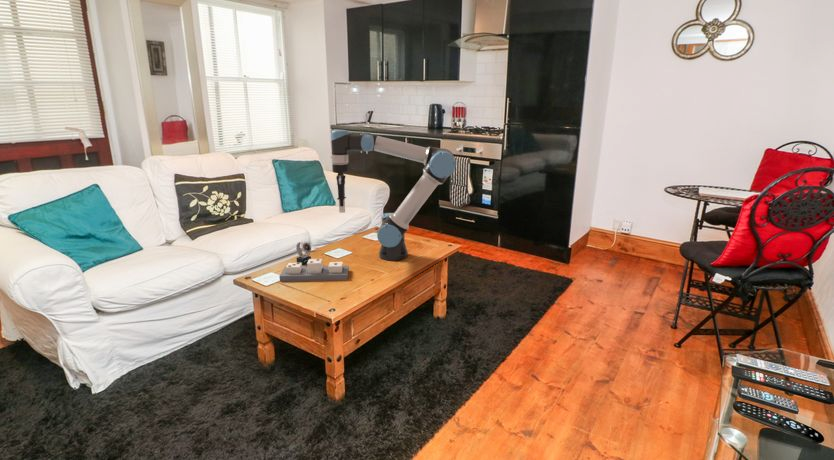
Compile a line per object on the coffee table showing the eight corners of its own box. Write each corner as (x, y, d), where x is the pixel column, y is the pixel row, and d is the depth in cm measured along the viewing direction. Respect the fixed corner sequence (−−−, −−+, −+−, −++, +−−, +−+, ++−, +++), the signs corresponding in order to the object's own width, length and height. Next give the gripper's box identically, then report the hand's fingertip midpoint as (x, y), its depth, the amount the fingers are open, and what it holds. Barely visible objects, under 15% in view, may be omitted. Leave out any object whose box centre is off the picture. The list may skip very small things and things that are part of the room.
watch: (305, 266, 222) (304, 244, 219) (294, 262, 226) (292, 242, 223) (314, 262, 226) (312, 241, 223) (302, 259, 230) (301, 239, 227)
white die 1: (302, 272, 212) (301, 262, 210) (300, 277, 206) (299, 266, 204) (289, 272, 211) (288, 262, 210) (286, 277, 205) (285, 266, 204)
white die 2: (343, 271, 213) (342, 261, 212) (342, 276, 207) (341, 265, 206) (330, 272, 213) (329, 261, 211) (328, 276, 207) (328, 266, 205)
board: (348, 270, 216) (348, 265, 216) (347, 279, 205) (346, 274, 204) (285, 271, 214) (284, 266, 213) (279, 281, 202) (279, 276, 202)
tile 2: (322, 268, 212) (322, 258, 210) (320, 273, 206) (320, 262, 205) (309, 269, 211) (309, 258, 210) (307, 273, 206) (307, 263, 204)
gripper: (333, 161, 218) (335, 209, 224) (330, 165, 206) (333, 215, 212) (349, 161, 219) (350, 209, 225) (347, 165, 206) (349, 215, 213)
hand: (342, 212), depth 218 cm, fingers closed
